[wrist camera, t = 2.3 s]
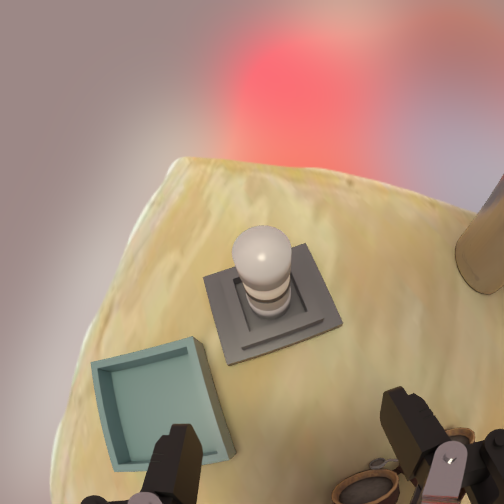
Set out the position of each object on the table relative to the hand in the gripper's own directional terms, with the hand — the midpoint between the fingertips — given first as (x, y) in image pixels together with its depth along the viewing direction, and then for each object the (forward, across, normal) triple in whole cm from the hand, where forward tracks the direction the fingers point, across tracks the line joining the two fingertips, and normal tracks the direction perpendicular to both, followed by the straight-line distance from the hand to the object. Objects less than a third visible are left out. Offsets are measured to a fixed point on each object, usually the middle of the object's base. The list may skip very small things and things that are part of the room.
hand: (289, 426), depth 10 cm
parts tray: (+12, +12, +10) cm, 20 cm away
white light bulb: (+19, 0, +2) cm, 19 cm away
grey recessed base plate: (+20, 0, +3) cm, 20 cm away
